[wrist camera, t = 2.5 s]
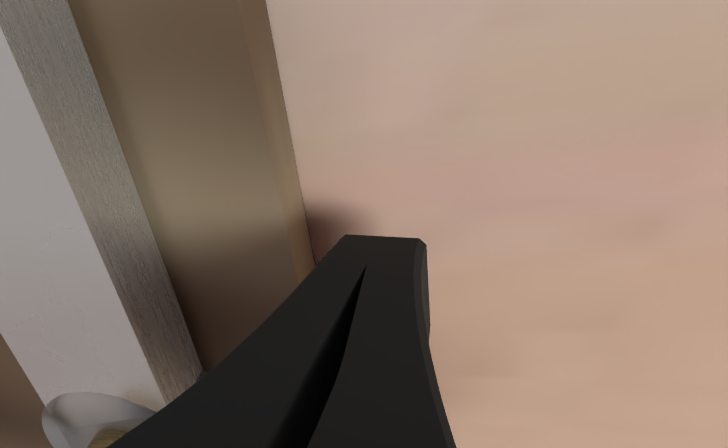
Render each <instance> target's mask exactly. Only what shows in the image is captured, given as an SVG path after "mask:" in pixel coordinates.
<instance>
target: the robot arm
mask: <svg viewBox="0 0 728 448" xmlns="http://www.w3.org/2000/svg"><path fill="white" fill-rule="evenodd" d="M429 333H430V311H429V291H428V270H427V249H426V244H425V243H424V242H423V241H421V240H420V239H419V238H401V237H383V236H364V235H345V236H343V237H342V238H341V239H340V240H339V241H338V242H337V243H336V244H335V246H334V247H333V248H332V249H331V250H330V251H329V252H328V253H327V255H326V256H325V257H324V258H323V259H322V260H321V261H320V262H319V264H318V265H317V266H316V267H315V268H314V269H313V270H312V271H311V272H310V274H309V275H308V276H307V277H306V278H305V279H304V280H303V281H302V282H301V283H300V284H299V286H298V287H297V288H296V289H295V290H294V291H293V292H292V293H291V294H290V295H289V296H288V297H287V298H286V299H285V300H284V301H283V302H282V303H281V304H280V305H279V306H278V307H277V308H276V309H275V310H274V311H273V313H272V314H271V315H270V316H269V317H268V318H267V319H266V320H265V321H264V322H263V323H262V324H261V325H260V326H258V327H257V328H256V329H255V330H254V331H253V332H252V333H251V334H250V335H249V336H248V337H247V338H246V339H244V340H243V341H242V342H241V343H240V344H239V345H238V346H237V347H236V348H235V349H234V350H233V351H232V352H231V353H229V354H228V355H227V356H226V357H225V358H224V359H223V360H222V361H221V362H219V363H218V364H217V365H216V366H215V367H214V368H212V369H211V370H210V371H209V372H208V373H207V374H205V375H204V376H203V377H202V378H201V379H199V380H198V381H197V382H196V383H194V384H193V385H192V386H191V387H189V388H188V389H187V390H186V391H184V392H183V393H182V394H181V395H179V396H178V397H177V398H176V399H174V400H173V401H172V402H170V403H169V404H168V405H166V406H165V407H164V408H162V409H161V410H159V411H158V412H157V413H155V414H154V415H153V416H151V417H150V418H148V419H147V420H145V421H144V422H142V423H141V424H139V425H138V426H137V427H135V428H134V429H132V430H131V431H129V432H128V433H126V434H125V435H123V436H122V437H121V438H119V439H118V440H116V441H115V442H113V443H112V444H110V445H109V446H108V447H106V448H456V445H455V442H454V439H453V436H452V433H451V429H450V426H449V423H448V420H447V416H446V413H445V409H444V406H443V402H442V399H441V395H440V391H439V387H438V383H437V379H436V375H435V371H434V366H433V362H432V358H431V353H430V348H429Z"/></svg>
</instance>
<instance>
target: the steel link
mask: <svg viewBox="0 0 728 448" xmlns="http://www.w3.org/2000/svg"><path fill="white" fill-rule="evenodd" d="M0 333H1V335H2V336H3V338H4V340H5V341H6V343H7V344H8V346H9V348H10V349H11V351H12V353H13V354H14V356H15V358H16V359H17V361H18V362H19V364H20V366H21V367H22V369H23V371H24V372H25V374H26V376H27V377H28V379H29V380H30V382H31V384H32V385H33V387H34V389H35V390H36V392H37V393H38V395H39V397H40V398H41V400H42V402H43V403H44V405H45V407H44V409H43V412H42V426H43V429H44V432H45V435H46V436H47V438H48V440H49V442H50V443H51V444H52V446H53V447H54V448H106V447H108V446H109V445H110V444H112V443H113V442H115V441H116V440H118V439H119V438H121V437H122V436H123V435H125V434H126V433H128V432H129V431H131V430H132V429H134V428H135V427H137V426H138V425H139V424H141V423H142V422H144V421H145V420H147V419H148V418H150V417H151V416H153V415H154V414H155V413H157V412H158V411H159V410H161V409H162V408H164V407H165V406H166V405H168V404H169V403H170V402H172V401H173V400H174V399H176V398H177V397H178V396H179V395H181V394H182V393H183V392H184V391H186V390H187V389H188V388H189V387H191V386H192V385H193V384H194V383H196V382H197V381H198V380H199V379H201V378H202V377H203V376H204V375H205V374H207V372H206V371H204V370H203V369H202V366H201V364H200V361H199V358H198V356H197V353H196V350H195V347H194V345H193V342H192V339H191V336H190V334H189V331H188V328H187V326H186V323H185V320H184V317H183V315H182V312H181V309H180V306H179V304H178V301H177V298H176V296H175V293H174V290H173V287H172V285H171V282H170V279H169V276H168V274H167V271H166V268H165V266H164V263H163V260H162V257H161V255H160V252H159V249H158V247H157V244H156V241H155V238H154V236H153V233H152V230H151V227H150V225H149V222H148V219H147V217H146V214H145V211H144V208H143V206H142V203H141V200H140V197H139V195H138V192H137V189H136V187H135V184H134V181H133V178H132V176H131V173H130V170H129V167H128V165H127V162H126V159H125V157H124V154H123V151H122V148H121V146H120V143H119V140H118V137H117V135H116V132H115V129H114V127H113V124H112V121H111V118H110V116H109V113H108V110H107V107H106V105H105V102H104V99H103V97H102V94H101V91H100V88H99V86H98V83H97V80H96V78H95V75H94V72H93V69H92V67H91V64H90V61H89V58H88V56H87V53H86V50H85V48H84V45H83V42H82V39H81V37H80V34H79V31H78V28H77V26H76V23H75V20H74V18H73V15H72V12H71V9H70V7H69V4H68V1H67V0H0Z"/></svg>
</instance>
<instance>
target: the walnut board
mask: <svg viewBox="0 0 728 448" xmlns="http://www.w3.org/2000/svg"><path fill="white" fill-rule="evenodd" d="M67 1H68V4H69V7H70V9H71V12H72V15H73V18H74V20H75V23H76V26H77V28H78V31H79V34H80V37H81V39H82V42H83V45H84V48H85V50H86V53H87V56H88V58H89V61H90V64H91V67H92V69H93V72H94V75H95V78H96V80H97V83H98V86H99V88H100V91H101V94H102V97H103V99H104V102H105V105H106V107H107V110H108V113H109V116H110V118H111V121H112V124H113V127H114V129H115V132H116V135H117V137H118V140H119V143H120V146H121V148H122V151H123V154H124V157H125V159H126V162H127V165H128V167H129V170H130V173H131V176H132V178H133V181H134V184H135V187H136V189H137V192H138V195H139V197H140V200H141V203H142V206H143V208H144V211H145V214H146V217H147V219H148V222H149V225H150V227H151V230H152V233H153V236H154V238H155V241H156V244H157V247H158V249H159V252H160V255H161V257H162V260H163V263H164V266H165V268H166V271H167V274H168V276H169V279H170V282H171V285H172V287H173V290H174V293H175V296H176V298H177V301H178V304H179V306H180V309H181V312H182V315H183V317H184V320H185V323H186V326H187V328H188V331H189V334H190V336H191V339H192V342H193V345H194V347H195V350H196V353H197V356H198V358H199V361H200V364H201V366H202V369H203V370H204V371H206V372H207V373H208V372H209V371H210V370H211V369H212V368H214V367H215V366H216V365H217V364H218V363H219V362H221V361H222V360H223V359H224V358H225V357H226V356H227V355H228V354H229V353H231V352H232V351H233V350H234V349H235V348H236V347H237V346H238V345H239V344H240V343H241V342H242V341H243V340H244V339H246V338H247V337H248V336H249V335H250V334H251V333H252V332H253V331H254V330H255V329H256V328H257V327H258V326H260V325H261V324H262V323H263V322H264V321H265V320H266V319H267V318H268V317H269V316H270V315H271V314H272V313H273V311H274V310H275V309H276V308H277V307H278V306H279V305H280V304H281V303H282V302H283V301H284V300H285V299H286V298H287V297H288V296H289V295H290V294H291V293H292V292H293V291H294V290H295V289H296V288H297V287H298V286H299V284H300V283H301V282H302V281H303V280H304V279H305V278H306V277H307V276H308V275H309V274H310V272H311V271H312V270H313V269H314V268H315V263H314V258H313V252H312V247H311V242H310V236H309V231H308V226H307V220H306V215H305V210H304V204H303V199H302V194H301V188H300V183H299V177H298V172H297V167H296V161H295V156H294V151H293V145H292V140H291V135H290V129H289V124H288V119H287V113H286V108H285V103H284V97H283V92H282V87H281V81H280V76H279V70H278V65H277V60H276V54H275V49H274V44H273V38H272V33H271V28H270V22H269V17H268V12H267V6H266V1H265V0H67ZM44 407H45V405H44V403H43V402H42V400H41V398H40V397H39V395H38V393H37V392H36V390H35V389H34V387H33V385H32V384H31V382H30V380H29V379H28V377H27V376H26V374H25V372H24V371H23V369H22V367H21V366H20V364H19V362H18V361H17V359H16V358H15V356H14V354H13V353H12V351H11V349H10V348H9V346H8V344H7V343H6V341H5V340H4V338H3V336H2V335H1V333H0V448H54V447H53V446H52V444H51V443H50V442H49V440H48V438H47V436H46V435H45V432H44V429H43V426H42V412H43V409H44Z"/></svg>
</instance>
